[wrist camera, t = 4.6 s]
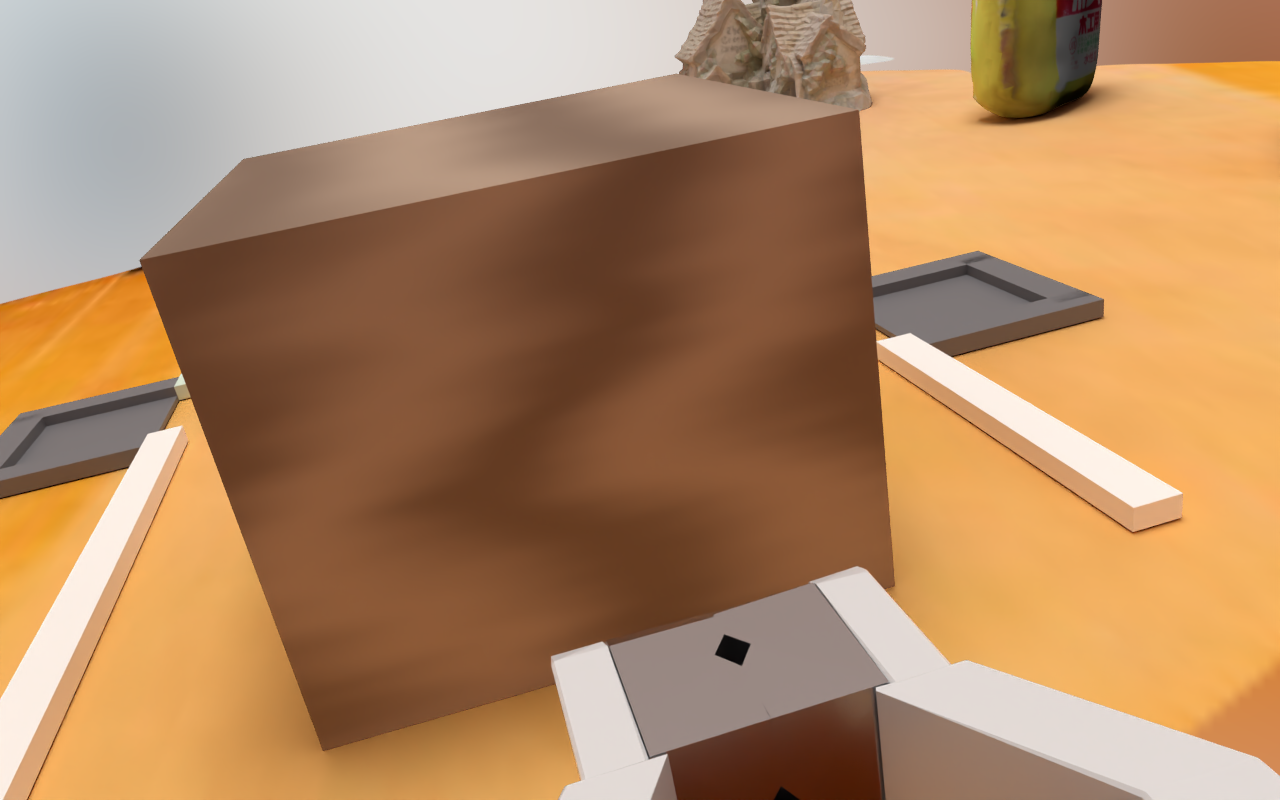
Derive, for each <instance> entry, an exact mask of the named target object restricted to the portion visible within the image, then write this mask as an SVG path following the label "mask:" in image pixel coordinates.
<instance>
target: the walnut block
mask: <svg viewBox="0 0 1280 800" xmlns="http://www.w3.org/2000/svg"><path fill="white" fill-rule="evenodd" d="M140 263H141V266H142V268H143V271H144V274H145V276H146V279H147V282H148V284H149V287H150V290H151V292H152V295H153V298H154V300H155V303H156V306H157V308H158V311H159V314H160V316H161V319H162V322H163V324H164V327H165V330H166V332H167V335H168V338H169V340H170V343H171V346H172V348H173V351H174V354H175V356H176V359H177V362H178V364H179V367H180V370H181V373H182V375H183V378H184V381H185V383H186V386H187V389H188V391H189V394H190V397H191V399H192V402H193V405H194V407H195V410H196V413H197V415H198V418H199V421H200V423H201V426H202V429H203V431H204V434H205V437H206V439H207V442H208V445H209V447H210V450H211V453H212V455H213V458H214V461H215V463H216V466H217V469H218V471H219V474H220V477H221V479H222V482H223V485H224V487H225V490H226V493H227V495H228V498H229V501H230V503H231V506H232V509H233V511H234V514H235V517H236V519H237V522H238V525H239V527H240V530H241V533H242V535H243V538H244V541H245V543H246V546H247V549H248V551H249V554H250V557H251V559H252V562H253V565H254V567H255V570H256V573H257V575H258V578H259V581H260V583H261V586H262V589H263V591H264V594H265V597H266V599H267V602H268V605H269V607H270V610H271V613H272V615H273V618H274V621H275V623H276V626H277V629H278V632H279V634H280V637H281V640H282V642H283V645H284V648H285V650H286V653H287V656H288V658H289V661H290V664H291V666H292V669H293V672H294V674H295V677H296V680H297V682H298V685H299V688H300V690H301V693H302V696H303V698H304V701H305V704H306V706H307V709H308V712H309V714H310V717H311V720H312V722H313V725H314V728H315V730H316V733H317V736H318V738H319V741H320V744H321V746H322V749H323V751H325V750H329V749H332V748H335V747H339V746H342V745H346V744H349V743H353V742H356V741H360V740H363V739H367V738H370V737H374V736H377V735H381V734H384V733H387V732H391V731H394V730H398V729H401V728H405V727H408V726H412V725H415V724H419V723H422V722H426V721H429V720H432V719H436V718H439V717H443V716H446V715H450V714H453V713H457V712H460V711H464V710H467V709H471V708H474V707H478V706H481V705H484V704H488V703H491V702H495V701H498V700H502V699H505V698H509V697H512V696H516V695H519V694H523V693H526V692H529V691H533V690H536V689H540V688H543V687H547V686H550V685H554V684H556V683H555V679H554V675H553V671H552V667H551V656H554V655H557V654H561V653H564V652H568V651H571V650H575V649H578V648H581V647H585V646H588V645H592V644H595V643H599V642H603V643H605V644H606V640H609V639H613V638H617V637H620V636H624V635H628V634H632V633H635V632H639V631H643V630H646V629H650V628H654V627H658V626H661V625H665V624H669V623H672V622H676V621H680V620H684V619H687V618H691V617H695V616H698V615H702V614H706V613H713V612H717V611H720V610H723V609H727V608H730V607H733V606H736V605H740V604H743V603H746V602H750V601H753V600H756V599H760V598H763V597H766V596H770V595H773V594H776V593H780V592H783V591H786V590H790V589H793V588H796V587H800V586H803V585H806V584H808V582H810V581H813V580H816V579H819V578H822V577H825V576H828V575H832V574H835V573H838V572H841V571H844V570H847V569H850V568H853V567H856V566H858V567H861V568H864V569H867V571H868V572H869V573H870V574H871V575H872V576H873V577H874V578H875V580H876V581H877V582H878V583H879V584H880V585H881V586H882V587H883V589H886V588H890V587H893V586H895V582H894V568H893V555H892V542H891V529H890V515H889V502H888V489H887V476H886V462H885V449H884V436H883V423H882V409H881V396H880V383H879V370H878V356H877V343H876V330H875V317H874V303H873V290H872V277H871V264H870V251H869V237H868V224H867V211H866V198H865V184H864V171H863V158H862V145H861V131H860V118H859V110H858V109H853V108H848V107H843V106H837V105H832V104H827V103H822V102H817V101H812V100H807V99H802V98H797V97H792V96H787V95H782V94H777V93H772V92H767V91H762V90H756V89H751V88H746V87H741V86H736V85H731V84H726V83H721V82H716V81H711V80H706V79H701V78H696V77H691V76H686V75H681V74H673V75H668V76H663V77H658V78H653V79H647V80H642V81H637V82H633V83H627V84H622V85H617V86H612V87H607V88H602V89H597V90H592V91H587V92H582V93H576V94H571V95H566V96H561V97H557V98H551V99H546V100H541V101H536V102H531V103H526V104H521V105H515V106H510V107H505V108H500V109H495V110H490V111H485V112H481V113H476V114H470V115H465V116H460V117H455V118H449V119H444V120H439V121H434V122H429V123H424V124H420V125H414V126H409V127H404V128H399V129H394V130H389V131H384V132H378V133H373V134H369V135H364V136H358V137H353V138H348V139H343V140H338V141H333V142H328V143H323V144H318V145H313V146H308V147H302V148H297V149H292V150H287V151H282V152H277V153H272V154H267V155H262V156H257V157H252V158H247V159H243V160H242V161H241V162H240V163H239V164H238V165H237V166H236V167H235V168H234V169H233V170H232V171H231V172H230V173H229V174H228V175H227V176H226V177H224V178H223V180H221V182H219V183H218V184H217V185H216V186H215V187H214V188H213V189H212V190H211V191H210V192H209V193H208V194H207V195H206V196H205V197H204V198H203V199H202V200H201V201H200V202H199V203H198V204H197V205H196V206H195V207H194V208H193V209H191V210H190V211H189V212H188V213H187V214H186V215H185V216H184V217H183V218H182V219H181V220H180V221H179V222H178V223H177V224H176V225H175V226H174V227H173V228H172V229H171V230H170V231H169V232H168V233H167V234H166V235H165V236H164V237H163V238H162V239H161V240H160V241H158V242H157V244H155V246H153V247H152V248H151V250H149V251H148V252H147V253H146V254H145V255H144V256H143V257H142V258H141V259H140Z"/></svg>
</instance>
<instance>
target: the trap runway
mask: <svg viewBox="0 0 1280 800" xmlns="http://www.w3.org/2000/svg"><path fill="white" fill-rule="evenodd" d="M872 290H873V303H874V317H875V328H876V329H878V330H879V331H881V332H883V333H884V334H886V335H887V336H889V337H891V338H888V339H884V340H881V341H877V342H876V343H877V356H878V360H880V361H881V362H883V363H884V364H886V365H887V366H889V367H890V368H892V369H893V370H894V371H896V372H897V373H899V374H900V375H902V376H903V377H905V378H906V379H908V380H909V381H911V382H912V383H914V384H915V385H917V386H918V387H920V388H921V389H922V390H924V391H925V392H927V393H928V394H930V395H931V396H933V397H934V398H936V399H937V400H939V401H940V402H942V403H943V404H945V405H946V406H948V407H949V408H951V409H952V410H953V411H955V412H956V413H958V414H959V415H961V416H962V417H964V418H965V419H967V420H968V421H970V422H971V423H973V424H974V425H976V426H977V427H979V428H980V429H982V430H983V431H984V432H986V433H987V434H989V435H990V436H992V437H993V438H995V439H996V440H998V441H999V442H1001V443H1002V444H1004V445H1005V446H1007V447H1008V448H1010V449H1011V450H1013V451H1014V452H1015V453H1017V454H1018V455H1020V456H1021V457H1023V458H1024V459H1026V460H1027V461H1029V462H1030V463H1032V464H1033V465H1035V466H1036V467H1038V468H1039V469H1041V470H1042V471H1043V472H1045V473H1046V474H1048V475H1049V476H1051V477H1052V478H1054V479H1055V480H1057V481H1058V482H1060V483H1061V484H1063V485H1064V486H1066V487H1067V488H1069V489H1070V490H1072V491H1073V492H1074V493H1076V494H1077V495H1079V496H1080V497H1082V498H1083V499H1085V500H1086V501H1088V502H1089V503H1091V504H1092V505H1094V506H1095V507H1097V508H1098V509H1100V510H1101V511H1103V512H1104V513H1105V514H1107V515H1108V516H1110V517H1111V518H1113V519H1114V520H1116V521H1117V522H1119V523H1120V524H1122V525H1123V526H1125V527H1126V528H1128V529H1129V530H1131V531H1132V532H1135V531H1138V530H1142V529H1145V528H1148V527H1152V526H1155V525H1158V524H1162V523H1165V522H1168V521H1172V520H1175V519H1178V518H1182V503H1183V493H1182V492H1180V491H1178V490H1176V489H1175V488H1173V487H1171V486H1170V485H1168V484H1166V483H1165V482H1163V481H1161V480H1159V479H1158V478H1156V477H1154V476H1153V475H1151V474H1149V473H1147V472H1146V471H1144V470H1142V469H1141V468H1139V467H1137V466H1136V465H1134V464H1132V463H1130V462H1129V461H1127V460H1125V459H1124V458H1122V457H1120V456H1119V455H1117V454H1115V453H1113V452H1112V451H1110V450H1108V449H1107V448H1105V447H1103V446H1102V445H1100V444H1098V443H1096V442H1095V441H1093V440H1091V439H1090V438H1088V437H1086V436H1085V435H1083V434H1081V433H1079V432H1078V431H1076V430H1074V429H1073V428H1071V427H1069V426H1067V425H1066V424H1064V423H1062V422H1061V421H1059V420H1057V419H1056V418H1054V417H1052V416H1050V415H1049V414H1047V413H1045V412H1044V411H1042V410H1040V409H1039V408H1037V407H1035V406H1033V405H1032V404H1030V403H1028V402H1027V401H1025V400H1023V399H1022V398H1020V397H1018V396H1016V395H1015V394H1013V393H1011V392H1010V391H1008V390H1006V389H1005V388H1003V387H1001V386H999V385H998V384H996V383H994V382H993V381H991V380H989V379H987V378H986V377H984V376H982V375H981V374H979V373H977V372H976V371H974V370H972V369H970V368H969V367H967V366H965V365H964V364H962V363H960V362H959V361H957V360H955V359H953V358H952V357H950V356H954V355H958V354H961V353H965V352H969V351H973V350H977V349H981V348H985V347H988V346H992V345H996V344H1000V343H1004V342H1008V341H1012V340H1015V339H1019V338H1023V337H1027V336H1031V335H1035V334H1039V333H1042V332H1046V331H1050V330H1054V329H1058V328H1062V327H1066V326H1070V325H1073V324H1077V323H1081V322H1085V321H1089V320H1093V319H1097V318H1100V317H1103V314H1104V299H1102V298H1099V297H1097V296H1094V295H1091V294H1089V293H1086V292H1084V291H1081V290H1078V289H1076V288H1073V287H1071V286H1068V285H1065V284H1063V283H1060V282H1058V281H1055V280H1052V279H1050V278H1047V277H1045V276H1042V275H1039V274H1037V273H1034V272H1032V271H1029V270H1026V269H1024V268H1021V267H1019V266H1016V265H1013V264H1011V263H1008V262H1006V261H1003V260H1000V259H998V258H995V257H993V256H990V255H987V254H985V253H982V252H980V251H975V252H971V253H967V254H963V255H959V256H955V257H951V258H946V259H942V260H938V261H934V262H930V263H926V264H922V265H917V266H913V267H909V268H905V269H901V270H897V271H893V272H888V273H884V274H880V275H876V276H872ZM187 398H191V397H190V394H189V391H188V389H187V386H186V383H185V381H184V378H183V375H182V373H181V375H180V377H177V378H173V379H168V380H164V381H160V382H155V383H151V384H147V385H142V386H138V387H134V388H129V389H125V390H121V391H116V392H112V393H108V394H103V395H99V396H95V397H90V398H86V399H82V400H77V401H73V402H69V403H64V404H60V405H56V406H51V407H47V408H43V409H38V410H34V411H30V412H25V413H21V414H20V415H19V416H18V417H17V418H16V419H15V420H14V421H13V422H12V423H11V424H10V426H9V427H8V428H7V429H6V430H5V431H4V432H3V433H2V434H1V435H0V498H2V497H6V496H10V495H14V494H19V493H23V492H27V491H31V490H35V489H39V488H43V487H47V486H51V485H56V484H60V483H64V482H68V481H72V480H76V479H80V478H84V477H88V476H93V475H97V474H101V473H105V472H109V471H113V470H117V469H121V468H126V467H129V469H128V470H127V472H126V474H125V476H124V478H123V479H122V481H121V483H120V485H119V487H118V488H117V490H116V492H115V494H114V496H113V497H112V499H111V501H110V503H109V505H108V506H107V508H106V510H105V512H104V514H103V515H102V517H101V519H100V521H99V523H98V524H97V526H96V528H95V530H94V532H93V533H92V535H91V537H90V539H89V541H88V542H87V544H86V546H85V548H84V550H83V551H82V553H81V555H80V557H79V559H78V560H77V562H76V564H75V566H74V568H73V570H72V571H71V573H70V575H69V577H68V579H67V580H66V582H65V584H64V586H63V588H62V589H61V591H60V593H59V595H58V597H57V598H56V600H55V602H54V604H53V606H52V607H51V609H50V611H49V613H48V615H47V616H46V618H45V620H44V622H43V624H42V625H41V627H40V629H39V631H38V633H37V634H36V636H35V638H34V640H33V642H32V643H31V645H30V647H29V649H28V651H27V652H26V654H25V656H24V658H23V660H22V661H21V663H20V665H19V667H18V669H17V670H16V672H15V674H14V676H13V678H12V679H11V681H10V683H9V685H8V687H7V688H6V690H5V692H4V694H3V696H2V697H1V699H0V800H27V798H28V796H29V794H30V791H31V789H32V787H33V785H34V783H35V780H36V778H37V776H38V774H39V771H40V769H41V767H42V765H43V763H44V760H45V758H46V756H47V754H48V751H49V749H50V747H51V745H52V742H53V740H54V738H55V736H56V734H57V731H58V729H59V727H60V725H61V722H62V720H63V718H64V716H65V714H66V711H67V709H68V707H69V705H70V702H71V700H72V698H73V696H74V694H75V691H76V689H77V687H78V685H79V682H80V680H81V678H82V676H83V674H84V671H85V669H86V667H87V665H88V662H89V660H90V658H91V656H92V654H93V651H94V649H95V647H96V645H97V642H98V640H99V638H100V636H101V634H102V631H103V629H104V627H105V625H106V622H107V620H108V618H109V616H110V614H111V611H112V609H113V607H114V605H115V602H116V600H117V598H118V596H119V594H120V591H121V589H122V587H123V585H124V582H125V580H126V578H127V576H128V574H129V571H130V569H131V567H132V565H133V562H134V560H135V558H136V556H137V553H138V551H139V549H140V547H141V545H142V542H143V540H144V538H145V536H146V533H147V531H148V529H149V527H150V525H151V522H152V520H153V518H154V516H155V513H156V511H157V509H158V507H159V505H160V502H161V500H162V498H163V496H164V493H165V491H166V489H167V487H168V485H169V482H170V480H171V478H172V476H173V473H174V471H175V469H176V467H177V465H178V462H179V460H180V458H181V456H182V453H183V451H184V449H185V447H186V445H187V442H188V438H187V436H186V433H185V430H184V428H183V426H179V427H174V428H170V429H166V430H164V428H165V426H166V424H167V422H168V421H169V419H170V417H171V415H172V413H173V411H174V409H175V407H176V405H177V403H178V401H179V400H182V399H187Z"/></svg>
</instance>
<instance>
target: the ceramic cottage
mask: <svg viewBox="0 0 1280 800" xmlns="http://www.w3.org/2000/svg"><path fill="white" fill-rule="evenodd" d="M752 1H753V3H752V4H747V5H744V4H743V2H742V1H741V0H703V6H702V7H701V10H700V11H699V14H700V15H699V16H698V17H697V21H696V24H695V25H694V27H693V29H692V30H691V31H690V32H689V35H688V38H687V40H686V42H685V43H684V44H683V45H682V47H681V50H680V51H679V52H678V53H677V54H676V55H675V58H677V59H678V60H680V61H681V62H682V63H683V69H682V70H681V71H680V72H679V74H681V75H686V76H691V77H696V78H701V79H706V80H711V81H716V82H721V83H726V84H731V85H736V86H741V87H746V88H751V89H756V90H762V91H767V92H772V93H777V94H782V95H787V96H792V97H797V98H802V99H807V100H812V101H817V102H822V103H827V104H832V105H837V106H843V107H848V108H853V109H858V110H859V111H861V110H862V109H863V110H864V109H867V108H869V107H870V106H871V103H872V101H871V97H870V93H869V90H868V84H867V79H866V78H865V77H864V75H863V74H862V73H860V56H861V54H862V53H863V52H864V51H865V49H866V45H865V44H864V43H865V35H864V34H863V32H862V30H861V27H860V24H859V21H858V19H857V16H856V14H855V11H854V9H853V3H852V1H851V0H752Z"/></svg>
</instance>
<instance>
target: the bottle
mask: <svg viewBox="0 0 1280 800" xmlns="http://www.w3.org/2000/svg"><path fill="white" fill-rule="evenodd" d="M1101 7H1102V0H972V10H971V74H972V81H973V98H974V99H975V100H976V101H977V102H978V103H979V104H980V105H981V106H982V107H984V108H985V109H986V110H988V111H990V112H992V113H994V114H996V115H999V116H1002V117H1008V118H1026V117H1032V116H1036V115H1040V114H1043V113H1046V112H1049V111H1051V110H1053V109H1055V108H1057V107H1059V106H1061V105H1063V104H1066V103H1069V102H1071V101H1073V100H1076V99H1078V98H1080V97H1082V96H1083V95H1084V94H1085V93H1087V91H1088V90H1089V88H1090V86H1091V84H1092V82H1093V78H1094V74H1095V69H1096V64H1097V58H1098V45H1099V33H1100V19H1101Z"/></svg>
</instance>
